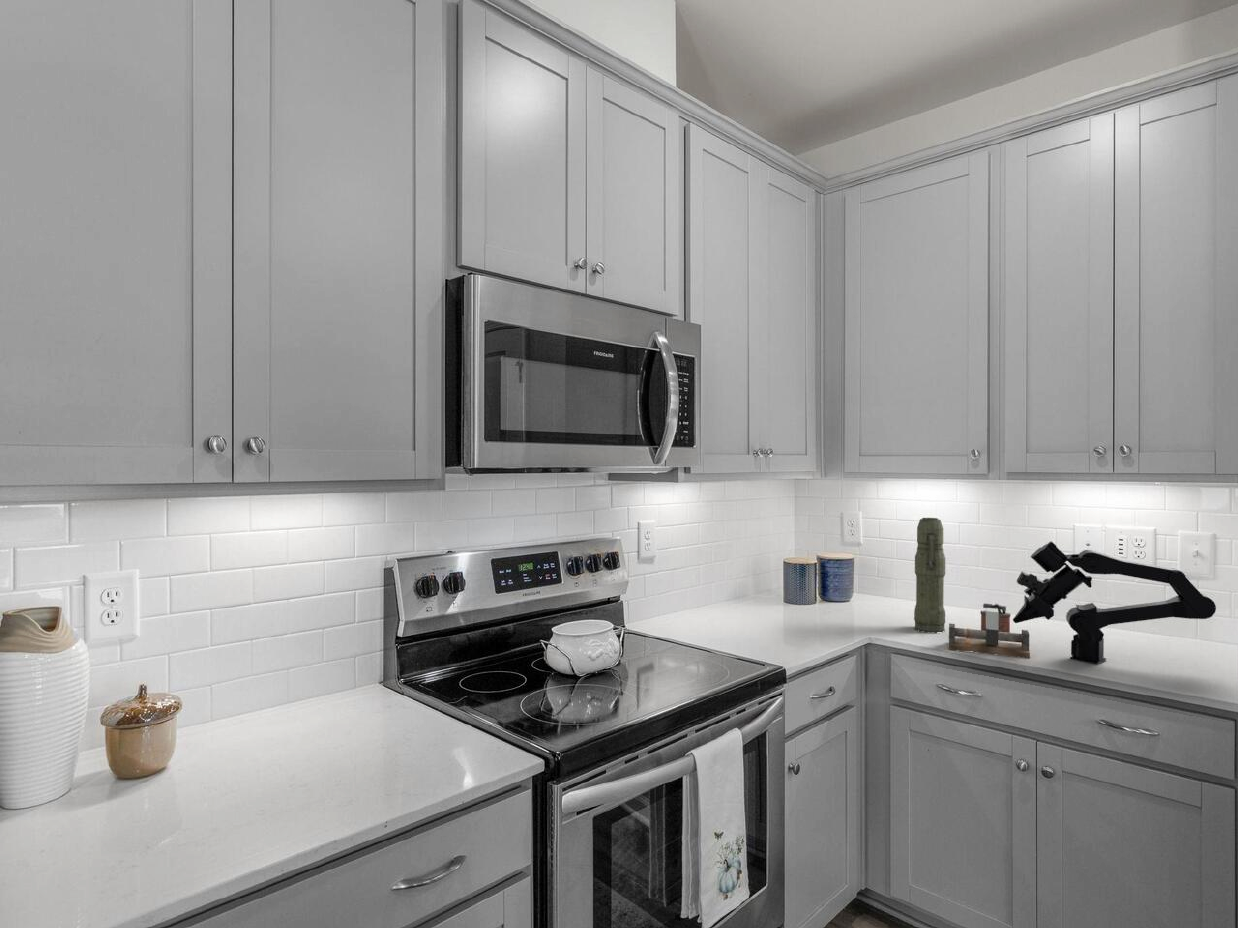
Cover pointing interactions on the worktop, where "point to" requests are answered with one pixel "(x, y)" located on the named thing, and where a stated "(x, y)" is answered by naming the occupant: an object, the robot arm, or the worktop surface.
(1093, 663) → the robot arm
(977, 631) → the pipe stand
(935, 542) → the thermos
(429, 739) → the worktop surface
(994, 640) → the white slider block
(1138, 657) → the worktop surface
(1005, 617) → the lighter
